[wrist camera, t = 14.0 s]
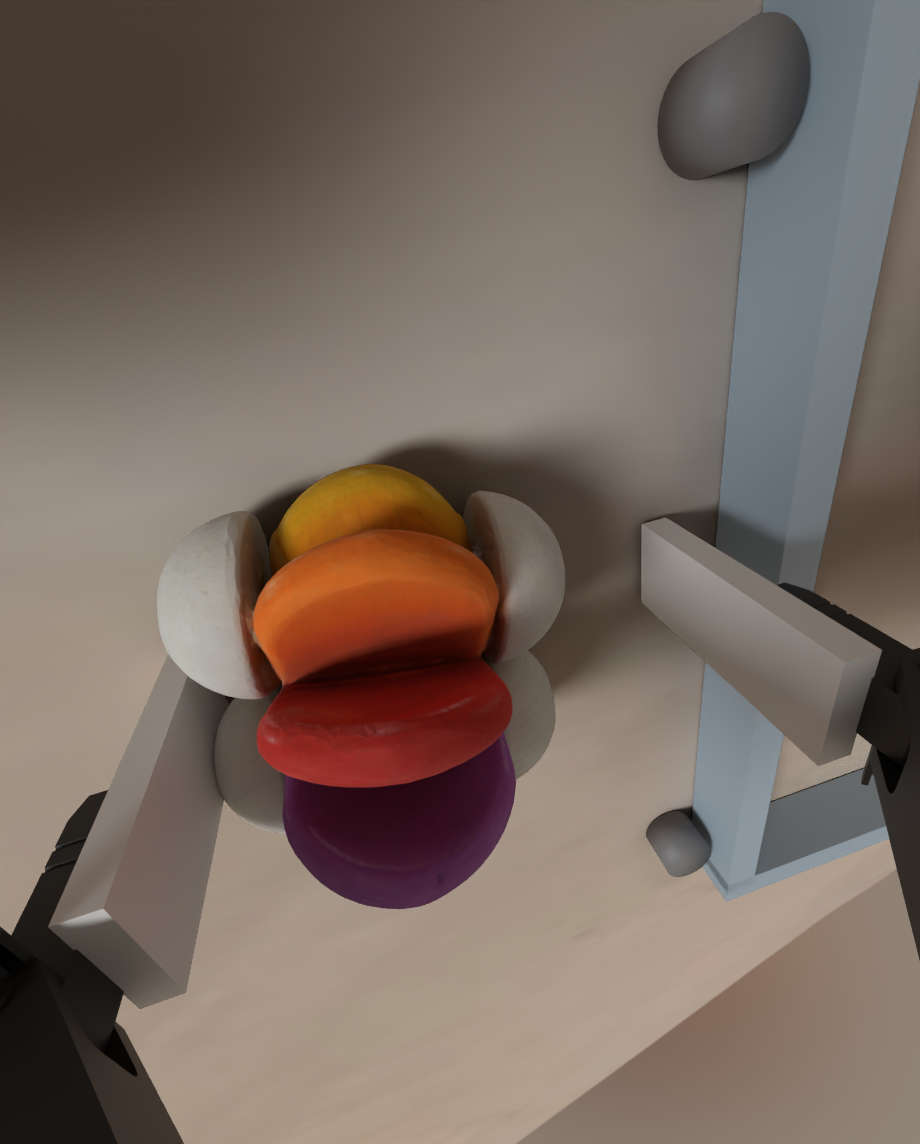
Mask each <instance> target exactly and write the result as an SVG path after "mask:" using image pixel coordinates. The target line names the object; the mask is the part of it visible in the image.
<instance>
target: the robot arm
mask: <svg viewBox="0 0 920 1144" xmlns="http://www.w3.org/2000/svg"><path fill="white" fill-rule="evenodd" d="M641 603H642V604H643V605H645V606H646V607H647V608H648V609H649V610H650V611H651V612H652V613H653V614H654V615H655V616H656V617H658V618H659V619H660V620H661V621H662V622H663V623H664V624H665V625H666V626H667V627H668V628H669V629H671V630H672V631H673V632H674V633H675V634H676V635H677V636H678V637H679V638H680V639H681V640H682V641H683V642H685V643H686V644H687V645H688V646H689V647H690V648H691V649H692V650H693V651H694V652H695V653H696V654H698V655H699V656H700V657H701V658H702V659H703V660H704V661H705V662H706V663H707V664H708V665H709V666H711V667H712V668H713V669H714V670H715V671H716V672H717V673H718V674H719V675H720V676H721V677H722V678H723V679H725V680H726V681H727V682H728V683H729V684H730V685H731V686H732V687H733V688H734V689H735V690H736V691H738V692H739V693H740V694H741V695H742V696H743V697H744V698H745V699H746V700H747V701H748V702H749V703H751V704H752V705H753V706H754V707H755V708H756V709H757V710H758V711H759V712H760V713H761V714H762V715H763V716H765V717H766V718H767V719H768V720H769V721H770V722H771V723H772V724H773V725H774V726H775V727H776V728H778V729H779V730H780V731H781V732H782V733H783V734H784V735H785V736H786V737H787V738H788V739H789V740H791V741H792V742H793V743H794V744H795V745H796V746H797V747H798V748H799V749H800V750H801V751H802V752H803V753H805V754H806V755H807V756H808V757H809V758H810V759H811V760H812V761H813V762H814V763H815V764H816V765H818V766H820V765H822V764H825V763H828V762H831V761H833V760H836V759H839V758H842V757H845V756H847V755H850V754H851V751H852V748H853V745H854V741H855V738H856V735H857V733H858V734H859V735H860V736H862V737H863V738H864V739H865V740H867V741H868V742H869V743H870V744H872V747H871V750H870V753H869V756H868V759H867V762H866V765H865V768H864V771H863V774H862V781H861V784H862V785H867V786H868V784H869V781H870V779H871V776H872V775H874V779H875V783H876V787H877V791H878V795H879V799H880V803H881V807H882V811H883V815H884V819H885V823H886V827H887V831H888V835H889V839H890V843H891V847H892V851H893V855H894V859H895V863H896V867H897V871H898V875H899V879H900V883H901V887H902V891H903V895H904V899H905V903H906V907H907V911H908V915H909V919H910V923H911V927H912V931H913V935H914V939H915V943H916V947H917V951H918V955H919V959H920V648H918V649H914V650H912V649H910V648H908V647H907V646H905V645H903V644H902V643H900V642H898V641H896V640H895V639H893V638H891V637H889V636H888V635H886V634H884V633H883V632H881V631H879V630H877V629H876V628H874V627H872V626H871V625H869V624H867V623H865V622H864V621H862V620H860V619H858V618H857V617H855V616H853V615H852V614H849V615H848V614H847V613H846V611H845V610H843V609H841V608H840V607H838V606H836V605H834V604H833V605H831V604H830V602H829V601H827V600H826V599H824V598H822V597H821V596H819V595H817V594H815V593H814V592H812V591H810V590H807V589H804V588H801V587H798V586H795V585H792V584H789V583H785V582H784V583H781V584H778V585H775V584H774V583H772V582H770V581H769V580H767V579H765V578H764V577H762V576H760V575H759V574H757V573H756V572H754V571H752V570H751V569H749V568H747V567H746V566H744V565H742V564H741V563H739V562H738V561H736V560H734V559H733V558H731V557H729V556H728V555H726V554H725V553H723V552H721V551H720V550H718V549H716V548H715V547H713V546H711V545H710V544H708V543H707V542H705V541H703V540H702V539H700V538H698V537H697V536H695V535H693V534H692V533H690V532H689V531H687V530H685V529H684V528H682V527H680V526H679V525H677V524H676V523H674V522H672V521H671V520H669V519H667V518H666V517H665V518H662V519H658V520H654V521H651V522H647V523H644V524H642V545H641ZM228 707H229V703H228V702H227V700H226V698H225V696H224V695H222V694H220V693H217V692H214V691H212V690H210V689H208V688H206V687H204V686H202V685H200V684H199V683H197V682H196V681H194V680H193V679H191V678H190V677H189V676H188V675H187V674H185V673H184V672H183V671H182V670H181V669H180V668H179V666H178V665H177V664H176V663H175V662H174V661H173V660H172V658H171V657H170V655H168V656H167V658H166V660H165V662H164V665H163V667H162V669H161V672H160V674H159V676H158V678H157V681H156V683H155V685H154V687H153V690H152V692H151V694H150V696H149V699H148V701H147V703H146V706H145V708H144V710H143V712H142V715H141V717H140V719H139V721H138V724H137V726H136V728H135V731H134V733H133V735H132V737H131V740H130V742H129V744H128V746H127V749H126V751H125V753H124V755H123V758H122V760H121V762H120V765H119V767H118V769H117V771H116V774H115V776H114V778H113V780H112V783H111V785H110V787H109V790H107V791H103V792H100V793H97V794H94V795H90V796H89V797H88V798H87V799H86V800H85V801H84V803H83V804H82V805H81V806H80V807H79V808H78V810H77V811H76V812H75V813H74V814H73V816H72V817H71V818H70V819H69V820H68V822H67V824H66V826H65V828H64V830H63V832H62V834H61V836H60V838H59V840H58V842H57V844H56V846H55V847H56V851H54V852H52V854H51V856H50V858H49V860H48V862H47V864H46V866H45V873H42V874H41V876H40V878H39V881H38V883H37V885H36V887H35V889H34V891H33V893H32V895H31V897H30V899H29V901H28V903H27V905H26V907H25V909H24V911H23V913H22V915H21V917H20V919H19V921H18V923H17V925H16V927H15V929H14V931H13V933H12V935H10V934H8V933H7V932H6V931H5V930H4V929H2V928H1V927H0V1144H184V1143H183V1141H182V1139H181V1137H180V1135H179V1133H178V1131H177V1129H176V1127H175V1125H174V1124H173V1122H172V1120H171V1118H170V1116H169V1114H168V1112H167V1110H166V1108H165V1106H164V1104H163V1103H162V1101H161V1099H160V1097H159V1095H158V1093H157V1091H156V1089H155V1087H154V1085H153V1083H152V1081H151V1080H150V1078H149V1076H148V1074H147V1072H146V1070H145V1068H144V1066H143V1064H142V1062H141V1060H140V1058H139V1057H138V1055H137V1053H136V1051H135V1049H134V1047H133V1045H132V1043H131V1041H130V1039H129V1037H128V1035H127V1034H126V1032H125V1030H124V1029H123V1028H122V1027H121V1026H120V1025H119V1024H118V1023H116V1022H115V1021H116V1017H117V1014H118V1010H119V1007H120V1003H121V1000H122V996H123V994H124V995H125V996H126V997H127V998H128V999H129V1000H130V1001H132V1002H133V1003H134V1004H135V1005H136V1006H137V1007H138V1008H139V1009H142V1008H144V1007H147V1006H150V1005H153V1004H155V1003H158V1002H161V1001H164V1000H167V999H169V998H172V997H175V996H178V995H181V994H183V993H186V989H187V984H188V979H189V974H190V969H191V963H192V958H193V953H194V948H195V943H196V938H197V933H198V928H199V923H200V918H201V913H202V908H203V903H204V898H205V893H206V887H207V882H208V877H209V872H210V867H211V862H212V857H213V852H214V847H215V842H216V837H217V832H218V827H219V822H220V817H221V811H222V806H223V801H224V798H223V797H222V795H221V793H220V790H219V787H218V784H217V779H216V774H215V766H214V749H215V739H216V733H217V729H218V726H219V723H220V721H221V719H222V717H223V715H224V713H225V711H226V709H227V708H228Z"/></svg>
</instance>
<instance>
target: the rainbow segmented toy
mask: <svg viewBox="0 0 920 1144" xmlns="http://www.w3.org/2000/svg"><path fill="white" fill-rule="evenodd" d="M564 592H565V566H564V562H563V557H562V553H561V549H560V546H559V544H558V541H557V539H556V537H555V535H554V533H553V532H552V530H551V529H550V528H549V526H548V525H547V524H546V523H545V521H544V520H543V519H542V518H541V517H540V516H539V515H538V514H537V513H536V512H535V511H534V510H533V509H531V508H530V507H528V506H527V505H525V504H524V503H522V502H520V501H518V500H516V499H514V498H512V497H509V496H507V495H503V494H499V493H495V492H488V491H478V492H474V493H473V494H472V495H470V497H469V498H468V500H467V503H466V506H465V510H464V515H463V518H462V517H461V515H460V514H459V513H456V512H455V510H454V509H453V508H452V507H451V505H450V504H449V503H448V502H447V501H446V500H445V499H444V498H443V496H442V495H440V494H439V493H438V492H437V491H436V490H435V489H434V488H433V487H432V486H431V485H430V484H428V483H427V482H425V481H424V480H423V479H421V478H419V477H417V476H415V475H413V474H411V473H409V472H406V471H404V470H401V469H398V468H395V467H391V466H387V465H379V464H365V465H359V466H354V467H349V468H346V469H342V470H340V471H337V472H335V473H332V474H330V475H328V476H326V477H324V478H323V479H321V480H319V481H318V482H316V483H315V484H313V485H312V486H311V487H309V488H308V489H307V490H306V491H305V492H303V493H302V494H301V495H300V496H299V497H298V498H297V499H296V500H295V502H294V503H293V504H292V505H291V507H290V508H289V509H288V510H287V512H286V513H285V515H284V517H283V518H282V520H281V522H280V524H279V525H278V527H277V530H276V531H275V532H273V534H272V537H271V540H270V543H269V548H268V545H267V541H266V538H265V535H264V533H263V530H262V528H261V525H260V523H259V521H258V519H257V518H256V517H255V516H254V515H253V514H252V513H250V512H247V511H237V512H233V513H230V514H226V515H223V516H220V517H218V518H215V519H213V520H211V521H209V522H207V523H205V524H204V525H202V526H200V527H199V528H197V529H196V530H194V531H193V532H192V533H191V534H190V535H188V536H187V537H186V538H185V539H184V540H183V541H182V542H181V543H180V544H179V546H178V547H177V548H176V549H175V550H174V552H173V553H172V555H171V556H170V557H169V559H168V561H167V563H166V564H165V566H164V568H163V571H162V573H161V576H160V579H159V585H158V590H157V614H158V626H159V630H160V634H161V638H162V640H163V643H164V645H165V648H166V650H167V652H168V653H169V655H170V657H171V658H172V660H173V661H174V662H175V663H176V664H177V665H178V666H179V668H180V669H181V670H182V671H183V672H184V673H185V674H187V675H188V676H189V677H190V678H191V679H193V680H194V681H196V682H197V683H199V684H200V685H202V686H204V687H206V688H208V689H210V690H212V691H214V692H217V693H220V694H222V695H225V696H230V697H235V698H234V700H233V701H232V702H231V704H230V705H229V707H228V708H227V709H226V711H225V713H224V715H223V717H222V719H221V721H220V723H219V726H218V729H217V733H216V739H215V749H214V766H215V774H216V779H217V784H218V787H219V790H220V793H221V795H222V797H223V798H224V800H225V801H226V803H227V804H228V805H229V807H230V808H231V809H232V810H233V811H234V812H235V813H236V814H237V815H238V816H239V817H240V818H242V819H243V820H245V821H246V822H247V823H249V824H251V825H253V826H255V827H257V828H259V829H262V830H265V831H269V832H273V833H280V834H286V835H287V838H288V841H289V843H290V845H291V847H292V849H293V851H294V852H295V854H296V855H297V857H298V858H299V859H300V861H301V862H302V863H303V864H304V866H305V867H306V868H307V869H308V870H309V872H310V873H311V874H312V875H313V876H314V877H315V878H316V879H317V880H318V881H320V882H321V883H322V884H323V885H325V886H326V887H327V888H329V889H330V890H332V891H334V892H335V893H337V894H338V895H340V896H342V897H344V898H347V899H349V900H352V901H354V902H357V903H360V904H363V905H367V906H372V907H379V908H388V909H405V908H413V907H419V906H423V905H426V904H428V903H431V902H433V901H435V900H437V899H439V898H441V897H442V896H444V895H446V894H447V893H449V892H450V891H452V890H453V889H455V888H456V887H458V886H459V885H460V884H462V883H463V882H464V881H466V880H467V879H468V878H469V877H470V876H471V875H472V874H473V873H474V872H475V871H476V870H477V869H478V868H479V867H480V866H481V865H482V864H483V863H484V862H485V860H486V859H487V858H488V856H489V855H490V854H491V852H492V851H493V850H494V848H495V846H496V845H497V843H498V842H499V840H500V838H501V836H502V834H503V832H504V830H505V828H506V825H507V822H508V820H509V817H510V814H511V810H512V807H513V803H514V796H515V787H516V779H518V778H519V777H521V776H522V775H524V774H525V773H527V772H528V771H529V770H530V769H531V768H532V767H533V766H534V765H535V764H536V763H537V762H538V761H539V760H540V758H541V757H542V755H543V754H544V752H545V750H546V749H547V747H548V745H549V742H550V740H551V737H552V734H553V731H554V726H555V703H554V697H553V693H552V689H551V685H550V682H549V679H548V677H547V674H546V672H545V670H544V668H543V667H542V665H541V664H540V662H539V661H538V660H537V659H536V658H535V657H534V656H533V654H532V653H531V652H530V651H528V649H530V648H531V647H532V646H534V645H535V644H536V643H537V642H538V641H540V640H541V638H542V637H543V636H544V635H545V634H546V633H547V631H548V630H549V629H550V627H551V626H552V624H553V623H554V621H555V619H556V617H557V615H558V613H559V611H560V608H561V605H562V602H563V599H564Z"/></svg>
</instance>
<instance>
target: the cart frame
mask: <svg viewBox="0 0 920 1144" xmlns="http://www.w3.org/2000/svg"><path fill="white" fill-rule="evenodd" d="M919 81H920V0H765V1H764V2H763V12H762V13H761V14H759V15H756V16H754V17H752V18H751V19H749V20H748V21H746V22H745V23H743V24H742V25H740V26H739V27H737V28H736V29H734V30H733V31H731V32H730V33H728V34H727V35H725V36H724V37H722V38H721V39H719V40H718V41H716V42H715V43H713V44H712V45H710V46H709V47H707V48H706V49H704V50H703V51H701V52H700V53H698V54H697V55H695V56H694V57H692V58H691V59H689V60H688V61H686V62H685V63H684V64H683V65H682V66H681V67H680V68H679V69H678V70H677V72H676V73H675V74H674V76H673V77H672V79H671V80H670V82H669V84H668V86H667V88H666V90H665V93H664V95H663V98H662V101H661V105H660V110H659V116H658V139H659V145H660V149H661V152H662V155H663V157H664V159H665V161H666V163H667V165H668V166H669V167H670V169H671V170H672V171H673V172H674V173H676V174H677V175H679V176H680V177H682V178H686V179H691V180H696V179H701V178H705V177H708V176H711V175H714V174H717V173H720V172H723V171H726V170H729V169H732V168H735V167H738V166H741V165H744V164H747V163H749V171H748V183H747V194H746V205H745V217H744V228H743V239H742V251H741V262H740V273H739V285H738V296H737V307H736V319H735V330H734V341H733V353H732V364H731V376H730V387H729V398H728V410H727V421H726V432H725V444H724V455H723V466H722V478H721V489H720V500H719V512H718V523H717V534H716V546H715V548H716V549H718V550H720V551H721V552H723V553H725V554H726V555H728V556H729V557H731V558H733V559H734V560H736V561H738V562H739V563H741V564H742V565H744V566H746V567H747V568H749V569H751V570H752V571H754V572H756V573H757V574H759V575H760V576H762V577H764V578H765V579H767V580H769V581H770V582H772V583H774V584H775V585H778V584H781V583H784V582H785V583H789V584H792V585H795V586H798V587H801V588H804V589H807V590H810V591H812V592H814V587H815V582H816V577H817V573H818V568H819V563H820V558H821V553H822V549H823V544H824V539H825V534H826V529H827V524H828V520H829V515H830V510H831V505H832V500H833V496H834V491H835V486H836V481H837V476H838V471H839V467H840V462H841V457H842V452H843V447H844V442H845V438H846V433H847V428H848V423H849V418H850V414H851V409H852V404H853V399H854V394H855V389H856V385H857V380H858V375H859V370H860V365H861V361H862V356H863V351H864V346H865V341H866V336H867V332H868V327H869V322H870V317H871V312H872V307H873V303H874V298H875V293H876V288H877V283H878V279H879V274H880V269H881V264H882V259H883V254H884V250H885V245H886V240H887V235H888V230H889V226H890V221H891V216H892V211H893V206H894V201H895V197H896V192H897V187H898V182H899V177H900V172H901V168H902V163H903V158H904V153H905V148H906V144H907V139H908V134H909V129H910V124H911V119H912V115H913V110H914V105H915V100H916V95H917V91H918V86H919ZM783 737H784V734H783V733H782V732H781V731H780V730H779V729H778V728H776V727H775V726H774V725H773V724H772V723H771V722H770V721H769V720H768V719H767V718H766V717H765V716H763V715H762V714H761V713H760V712H759V711H758V710H757V709H756V708H755V707H754V706H753V705H752V704H751V703H749V702H748V701H747V700H746V699H745V698H744V697H743V696H742V695H741V694H740V693H739V692H738V691H736V690H735V689H734V688H733V687H732V686H731V685H730V684H729V683H728V682H727V681H726V680H725V679H723V678H722V677H721V676H720V675H719V674H718V673H717V672H716V671H715V670H714V669H713V668H712V667H711V666H709V665H708V664H707V663H706V662H705V671H704V682H703V693H702V705H701V716H700V727H699V739H698V750H697V762H696V773H695V784H694V796H693V807H692V818H691V820H690V819H689V818H688V816H687V815H686V814H685V813H684V812H682V811H672V812H668V813H665V814H663V815H661V816H660V817H658V818H657V819H655V820H654V821H653V822H652V823H651V824H650V826H649V827H648V829H647V832H646V837H647V839H648V840H649V842H650V844H651V845H652V847H653V848H654V850H655V852H656V853H657V855H658V857H659V858H660V860H661V862H662V863H663V865H664V866H665V868H666V870H667V871H668V873H669V874H670V875H671V876H674V877H681V876H686V875H689V874H691V873H693V872H695V871H697V870H698V869H700V868H701V867H703V868H704V870H705V871H706V873H707V874H708V876H709V877H710V879H711V880H712V882H713V883H714V885H715V886H716V888H717V889H718V890H719V892H720V893H721V895H722V896H723V898H724V899H725V901H729V900H731V899H734V898H737V897H739V896H742V895H744V894H747V893H750V892H752V891H755V890H757V889H760V888H762V887H765V886H768V885H770V884H773V883H775V882H778V881H781V880H783V879H786V878H788V877H791V876H794V875H796V874H799V873H801V872H804V871H807V870H809V869H812V868H814V867H817V866H820V865H822V864H825V863H827V862H830V861H833V860H835V859H838V858H840V857H843V856H846V855H848V854H851V853H853V852H856V851H858V850H861V849H864V848H866V847H869V846H871V845H874V844H877V843H879V842H882V841H884V840H887V839H889V835H888V831H887V827H886V823H885V819H884V815H883V811H882V807H881V803H880V799H879V795H878V791H877V787H876V783H875V779H874V775H872V776H871V779H870V781H869V784H868V786H867V785H862V784H861V781H862V774H863V771H864V769H861V770H858V771H856V772H853V773H850V774H847V775H845V776H842V777H839V778H836V779H834V780H831V781H828V782H825V783H822V784H820V785H817V786H814V787H811V788H809V789H806V790H803V791H800V792H798V793H795V794H792V795H789V796H787V797H784V798H781V799H778V800H776V801H773V802H770V799H771V794H772V790H773V785H774V780H775V775H776V770H777V766H778V761H779V756H780V751H781V746H782V741H783Z"/></svg>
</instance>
